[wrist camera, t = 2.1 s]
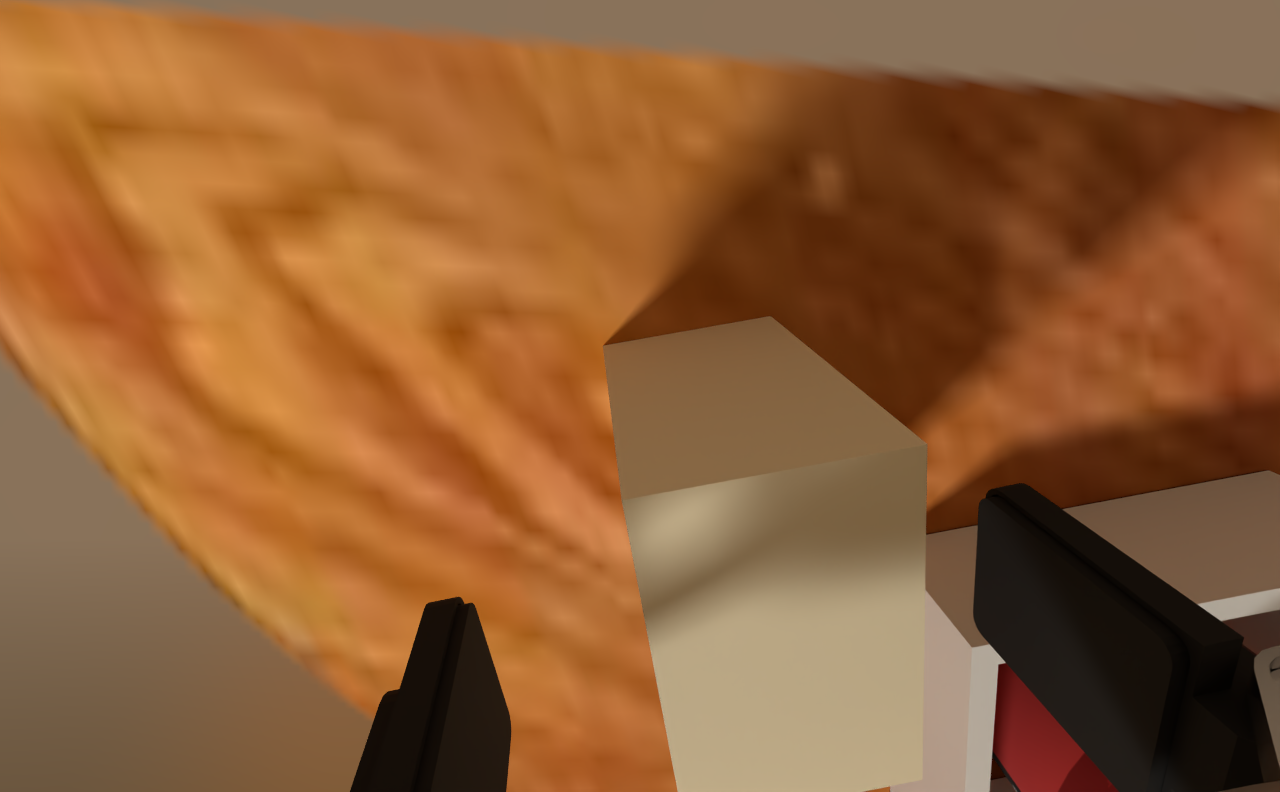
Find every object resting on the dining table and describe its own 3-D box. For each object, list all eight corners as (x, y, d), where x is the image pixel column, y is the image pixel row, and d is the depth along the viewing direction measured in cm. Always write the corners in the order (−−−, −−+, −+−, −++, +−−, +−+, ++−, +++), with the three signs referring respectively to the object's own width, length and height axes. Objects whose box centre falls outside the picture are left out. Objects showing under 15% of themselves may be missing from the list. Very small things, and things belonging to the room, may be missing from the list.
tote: (1268, 470, 20) (1455, 554, 15) (1201, 750, 24) (1331, 874, 20) (886, 541, 19) (972, 647, 15) (890, 813, 24) (956, 952, 20)
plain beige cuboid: (770, 315, 16) (927, 444, 9) (788, 537, 19) (922, 780, 12) (603, 345, 16) (621, 500, 9) (643, 564, 19) (684, 827, 11)
